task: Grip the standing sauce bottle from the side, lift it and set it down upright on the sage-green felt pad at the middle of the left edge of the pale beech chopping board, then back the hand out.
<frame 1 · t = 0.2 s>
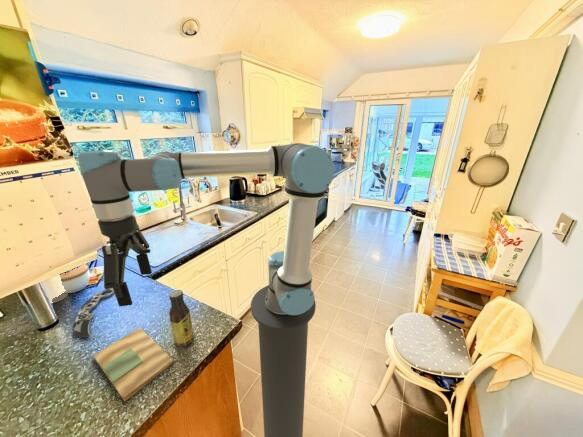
hand: (137, 287, 65), 28 cm above the worktop, tool pointing down, fingers open, 13 cm apart
knife: (92, 313, 94), on the worktop
lidded bowl: (76, 288, 108), on the worktop
sauce bottle: (184, 340, 83), on the worktop
chopping board: (133, 360, 75), on the worktop
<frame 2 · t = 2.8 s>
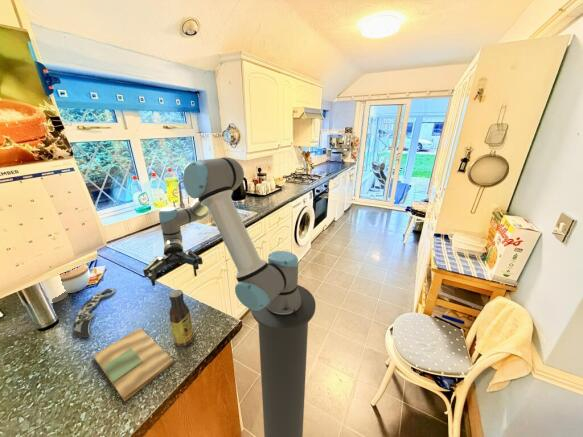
hand: (174, 277, 83), 20 cm above the worktop, tool horizontal, fingers open, 13 cm apart
nothing on the worktop moved.
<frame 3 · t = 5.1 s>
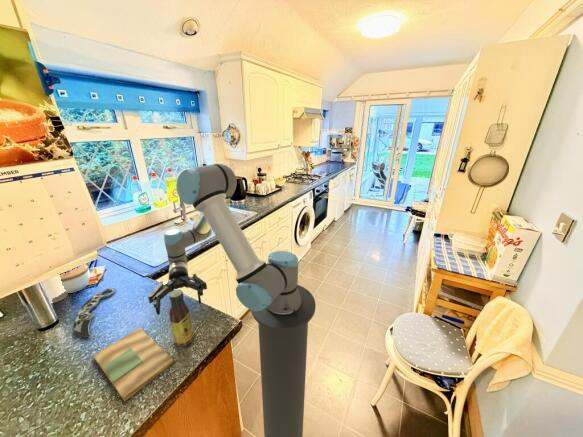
hand: (179, 305, 83), 11 cm above the worktop, tool horizontal, fingers open, 13 cm apart
nothing on the worktop moved.
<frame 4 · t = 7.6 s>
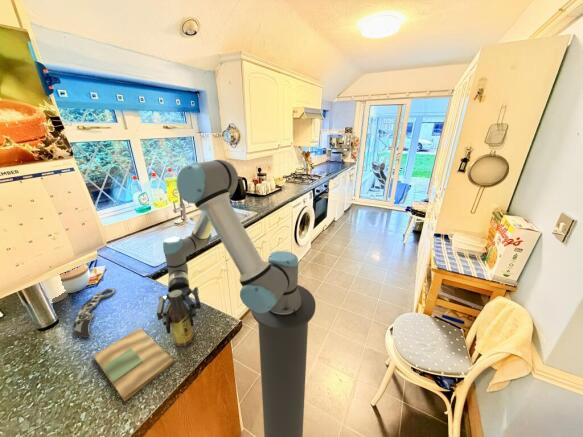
hand: (180, 326, 74), 11 cm above the worktop, tool horizontal, fingers closed on sauce bottle, 6 cm apart
sauce bottle: (184, 340, 83), on the worktop, touching gripper
everything else where it was.
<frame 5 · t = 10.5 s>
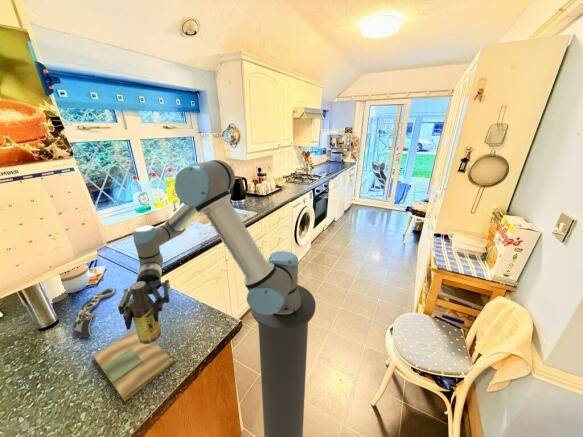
hand: (141, 321, 67), 18 cm above the worktop, tool horizontal, fingers closed on sauce bottle, 6 cm apart
sauce bottle: (151, 337, 75), point 7 cm above the worktop, touching gripper
everything else where it was.
when the fingers open (13 cm above the worktop, at t = 13.8 s): sauce bottle stays where it is, resting on chopping board.
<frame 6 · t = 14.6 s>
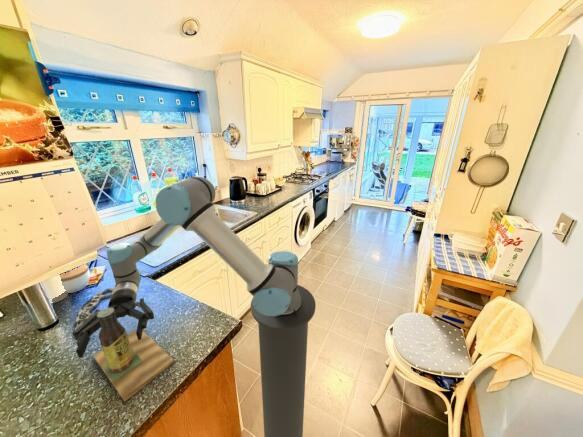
hand: (110, 344, 65), 13 cm above the worktop, tool horizontal, fingers open, 13 cm apart
sauce bottle: (122, 364, 72), point 2 cm above the worktop, touching chopping board
everything else where it was.
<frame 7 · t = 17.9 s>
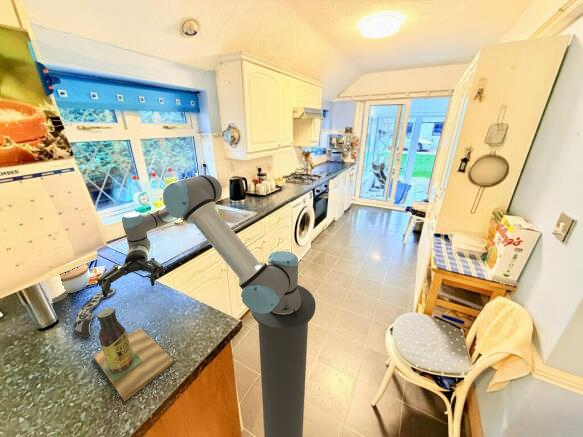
hand: (129, 288, 78), 20 cm above the worktop, tool horizontal, fingers open, 13 cm apart
nothing on the worktop moved.
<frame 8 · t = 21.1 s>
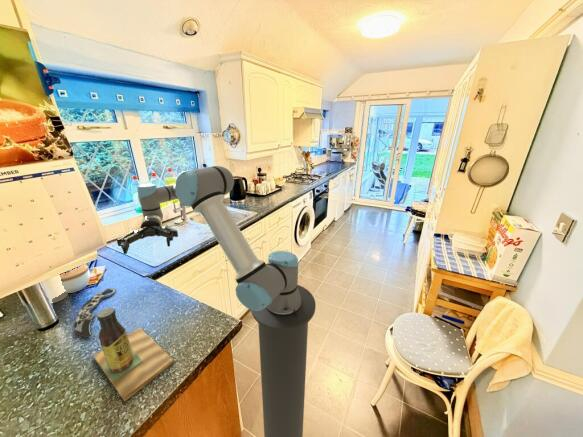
hand: (146, 246, 84), 30 cm above the worktop, tool horizontal, fingers open, 13 cm apart
nothing on the worktop moved.
at the end: sauce bottle inside the target area (0.2 cm from its centre), point 1.5 cm above the worktop; sauce bottle tilted 0°; the gripper is holding nothing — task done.
